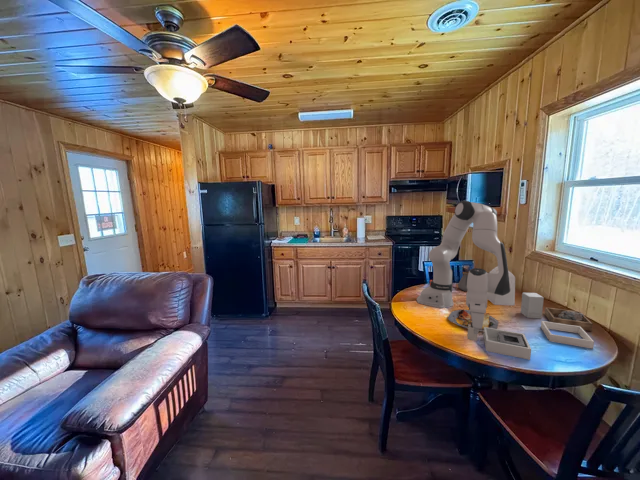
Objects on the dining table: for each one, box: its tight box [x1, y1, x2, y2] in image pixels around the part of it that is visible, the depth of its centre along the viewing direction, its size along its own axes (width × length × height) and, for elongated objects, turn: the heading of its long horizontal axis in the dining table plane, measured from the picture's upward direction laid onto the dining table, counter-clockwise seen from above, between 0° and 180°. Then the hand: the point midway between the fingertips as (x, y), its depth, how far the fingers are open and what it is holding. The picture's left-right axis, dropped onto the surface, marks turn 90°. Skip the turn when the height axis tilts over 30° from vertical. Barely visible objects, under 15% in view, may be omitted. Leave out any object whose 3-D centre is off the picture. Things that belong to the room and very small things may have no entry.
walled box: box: [483, 327, 532, 361], centre depth 121 cm, size 16×14×5 cm
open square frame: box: [540, 320, 595, 349], centre depth 127 cm, size 15×15×4 cm
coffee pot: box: [457, 271, 490, 292], centre depth 192 cm, size 21×12×15 cm, turn 65°
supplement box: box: [520, 292, 545, 319], centre depth 150 cm, size 7×7×13 cm
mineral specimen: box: [557, 310, 585, 321], centre depth 140 cm, size 10×8×10 cm
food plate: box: [447, 308, 499, 332], centre depth 146 cm, size 25×23×4 cm
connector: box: [467, 321, 479, 342], centre depth 129 cm, size 4×4×8 cm
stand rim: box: [544, 307, 593, 332], centre depth 142 cm, size 15×15×4 cm
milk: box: [487, 265, 516, 306], centre depth 170 cm, size 12×12×26 cm
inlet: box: [497, 332, 525, 347], centre depth 120 cm, size 9×9×4 cm
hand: (475, 329), depth 128 cm, fingers open, 8 cm apart
